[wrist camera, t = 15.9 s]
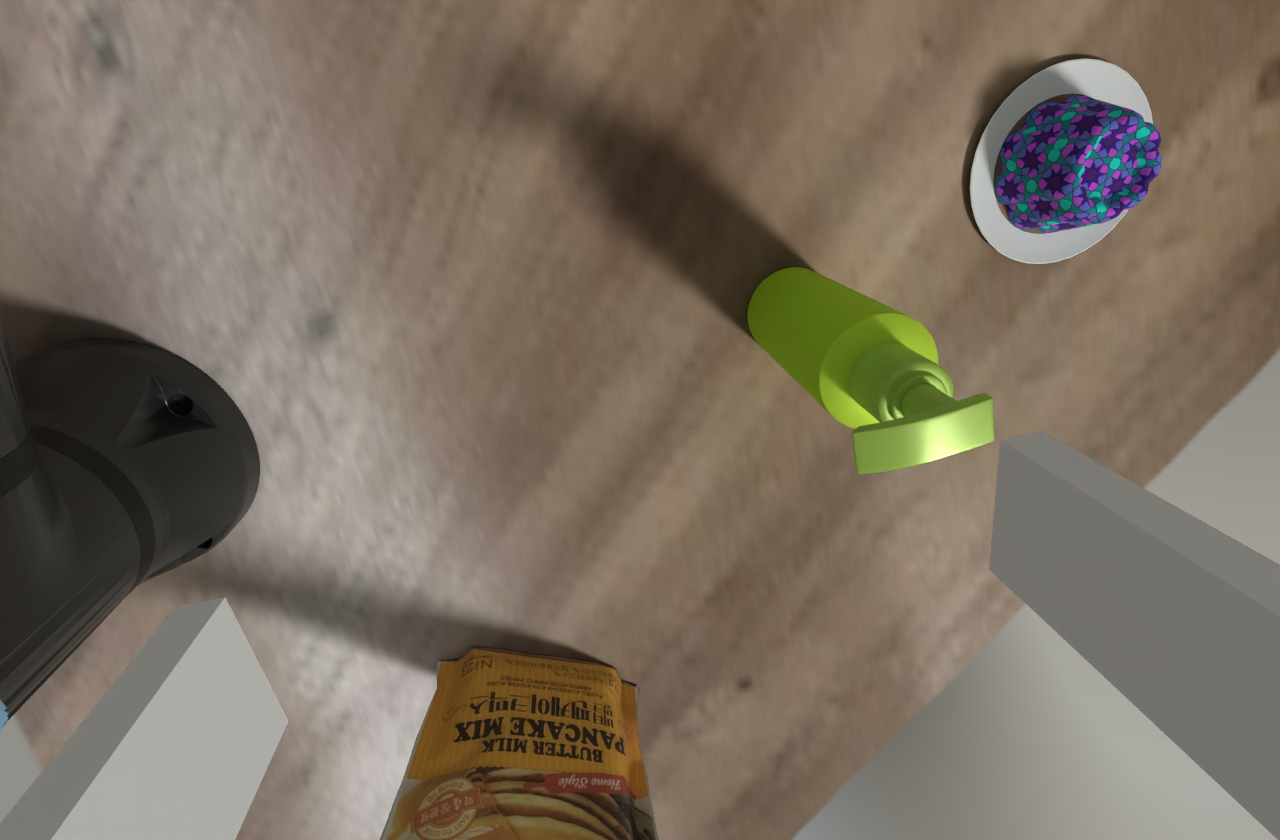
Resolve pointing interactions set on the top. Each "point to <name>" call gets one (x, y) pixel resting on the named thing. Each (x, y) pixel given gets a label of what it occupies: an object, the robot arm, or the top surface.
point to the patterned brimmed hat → (1064, 161)
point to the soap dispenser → (867, 370)
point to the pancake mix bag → (525, 754)
